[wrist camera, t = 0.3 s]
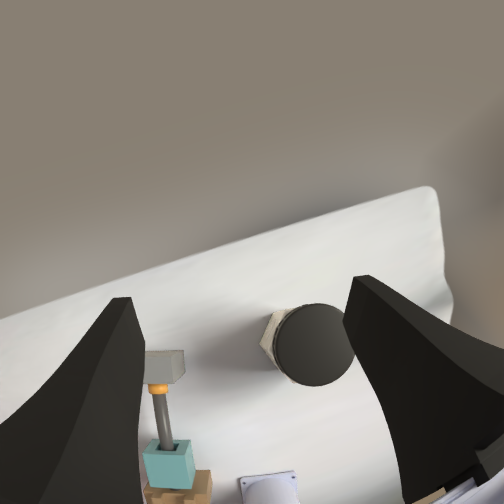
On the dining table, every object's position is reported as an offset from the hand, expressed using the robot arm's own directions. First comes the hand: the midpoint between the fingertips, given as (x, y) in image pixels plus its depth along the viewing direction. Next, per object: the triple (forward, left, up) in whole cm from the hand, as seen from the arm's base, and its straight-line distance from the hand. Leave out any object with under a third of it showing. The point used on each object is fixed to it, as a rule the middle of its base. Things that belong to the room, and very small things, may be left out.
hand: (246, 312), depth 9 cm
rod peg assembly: (-14, +10, -30) cm, 34 cm away
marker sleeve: (-18, +10, -27) cm, 33 cm away
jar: (-3, -7, -30) cm, 31 cm away
